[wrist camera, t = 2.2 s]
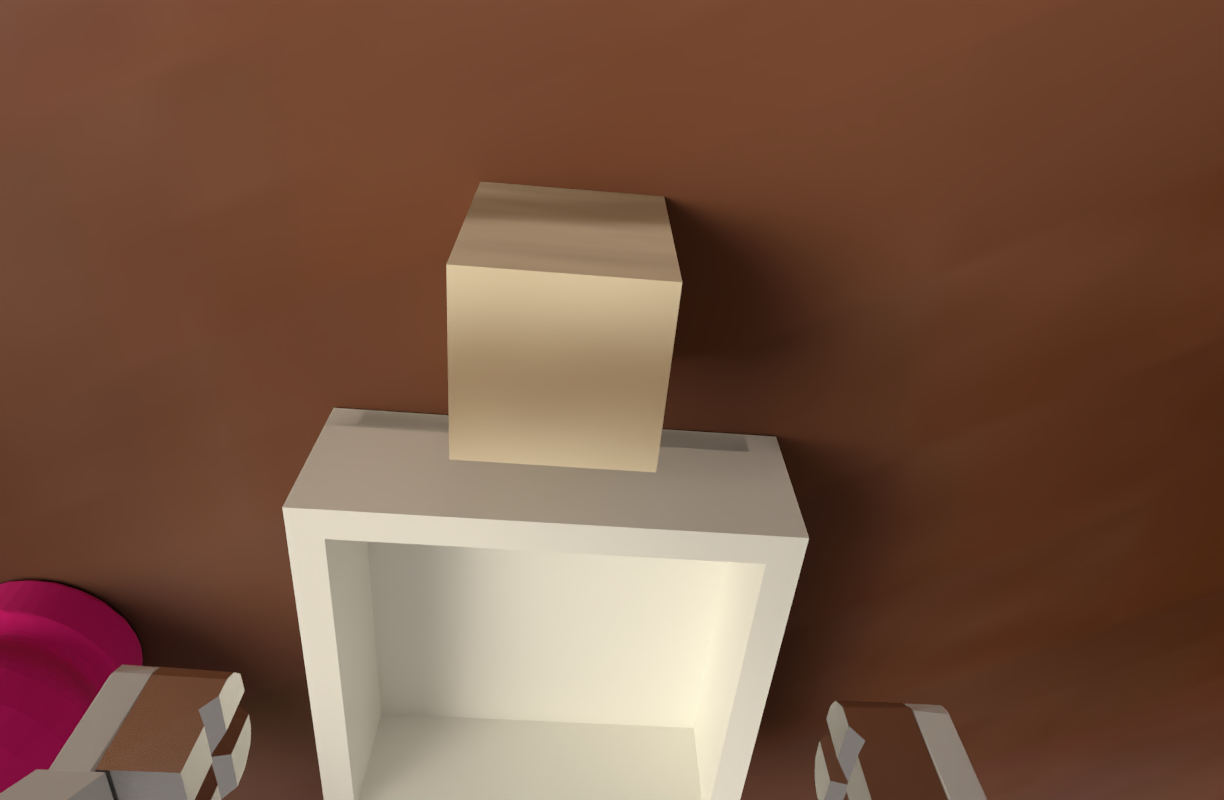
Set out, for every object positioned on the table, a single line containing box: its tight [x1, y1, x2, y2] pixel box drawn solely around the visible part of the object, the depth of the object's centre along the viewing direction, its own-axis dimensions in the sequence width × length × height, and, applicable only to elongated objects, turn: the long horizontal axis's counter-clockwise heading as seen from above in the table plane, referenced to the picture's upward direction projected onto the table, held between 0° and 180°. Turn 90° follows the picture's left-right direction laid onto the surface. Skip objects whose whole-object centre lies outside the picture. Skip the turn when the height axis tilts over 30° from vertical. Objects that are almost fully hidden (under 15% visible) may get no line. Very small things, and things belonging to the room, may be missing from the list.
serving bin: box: [282, 408, 809, 800], centre depth 28 cm, size 14×14×5 cm
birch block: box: [446, 182, 682, 472], centre depth 22 cm, size 5×5×6 cm
